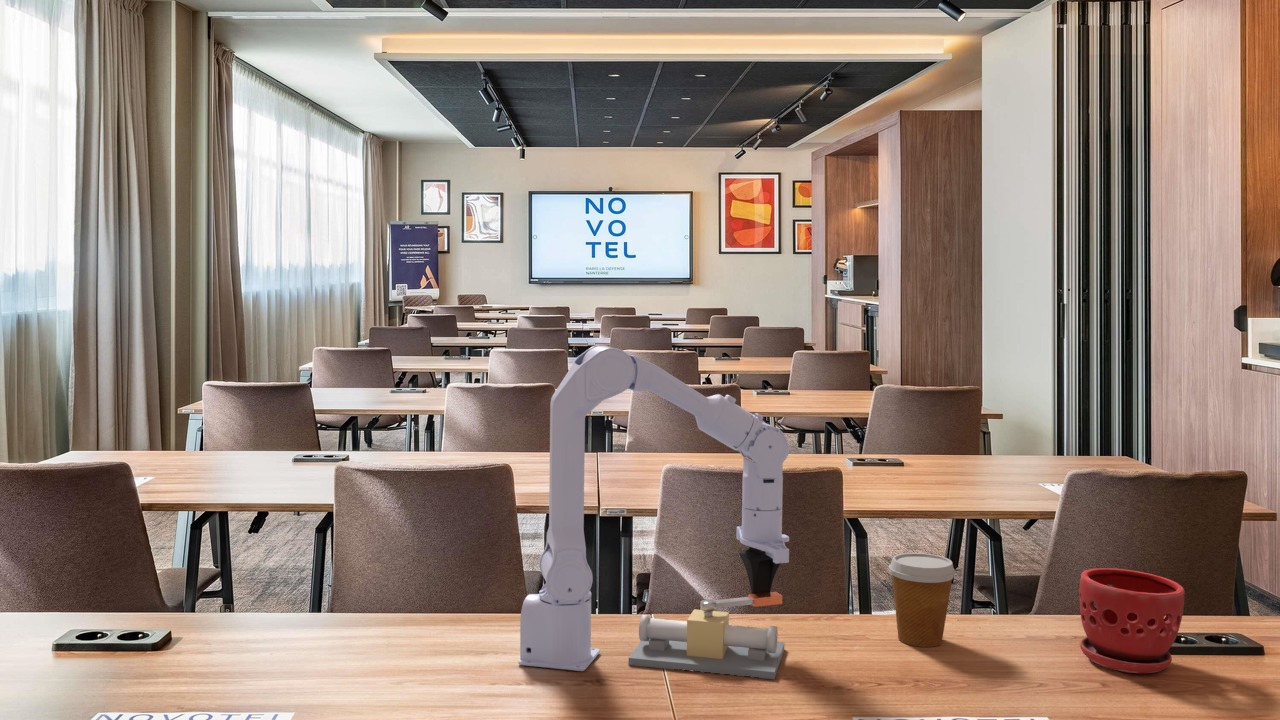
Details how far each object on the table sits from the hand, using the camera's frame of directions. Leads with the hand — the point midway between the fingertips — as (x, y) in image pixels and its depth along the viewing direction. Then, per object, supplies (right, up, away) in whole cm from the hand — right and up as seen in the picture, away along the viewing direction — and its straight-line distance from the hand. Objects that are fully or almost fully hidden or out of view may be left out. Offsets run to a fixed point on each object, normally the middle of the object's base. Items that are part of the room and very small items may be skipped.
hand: (760, 600), depth 148 cm
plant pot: (+51, -8, -4) cm, 52 cm away
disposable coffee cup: (+24, -7, +4) cm, 26 cm away
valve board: (-8, -7, -4) cm, 11 cm away
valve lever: (-3, 0, -3) cm, 4 cm away
